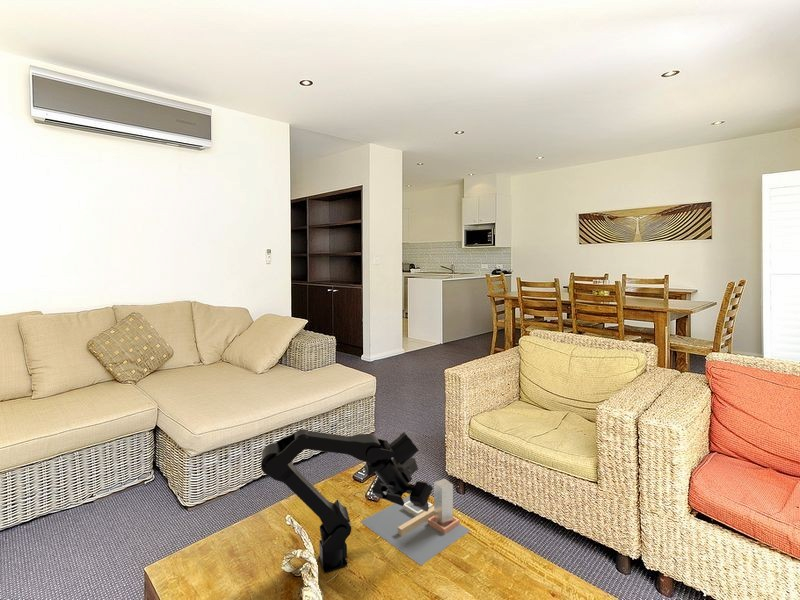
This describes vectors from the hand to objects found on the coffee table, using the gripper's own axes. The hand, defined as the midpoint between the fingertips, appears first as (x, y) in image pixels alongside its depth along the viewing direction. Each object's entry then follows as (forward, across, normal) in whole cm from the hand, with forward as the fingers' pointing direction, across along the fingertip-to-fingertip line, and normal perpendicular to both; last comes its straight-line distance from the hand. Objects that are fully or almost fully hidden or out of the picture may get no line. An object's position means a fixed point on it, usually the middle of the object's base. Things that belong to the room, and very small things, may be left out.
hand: (415, 507), depth 127 cm
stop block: (+12, -2, -3) cm, 13 cm away
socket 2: (+12, -2, -3) cm, 13 cm away
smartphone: (+5, +25, +2) cm, 26 cm away
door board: (+9, +4, +3) cm, 10 cm away
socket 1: (+11, +8, -5) cm, 15 cm away
